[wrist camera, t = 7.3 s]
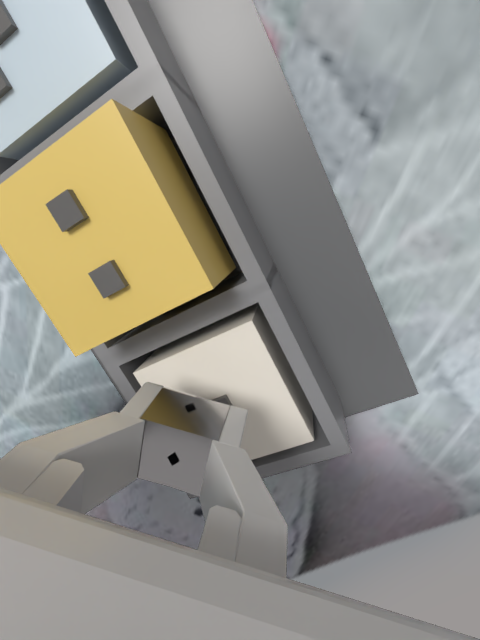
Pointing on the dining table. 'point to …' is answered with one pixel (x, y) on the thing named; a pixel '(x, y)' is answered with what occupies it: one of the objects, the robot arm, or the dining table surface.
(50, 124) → the pale blue key
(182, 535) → the dining table surface
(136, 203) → the mustard key
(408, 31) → the dining table surface
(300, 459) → the keypad board
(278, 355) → the cream key
